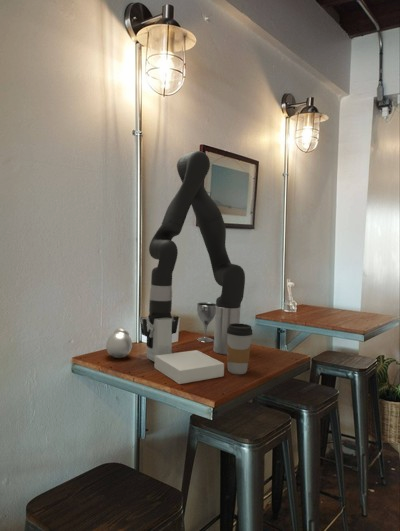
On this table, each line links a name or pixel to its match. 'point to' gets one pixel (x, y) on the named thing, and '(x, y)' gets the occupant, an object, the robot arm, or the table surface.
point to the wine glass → (206, 317)
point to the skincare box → (160, 338)
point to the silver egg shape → (119, 343)
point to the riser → (189, 366)
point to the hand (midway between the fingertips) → (158, 346)
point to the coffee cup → (238, 347)
